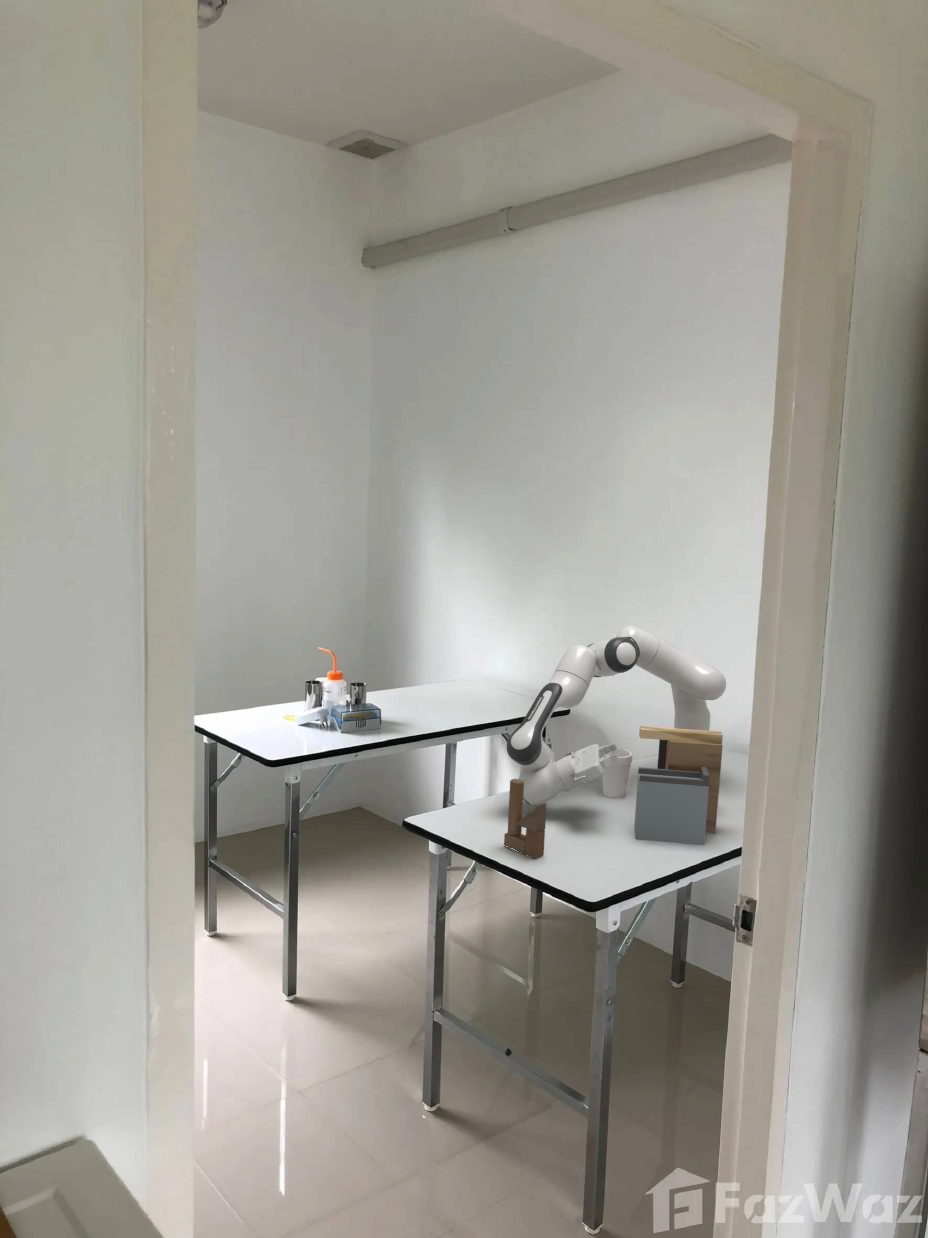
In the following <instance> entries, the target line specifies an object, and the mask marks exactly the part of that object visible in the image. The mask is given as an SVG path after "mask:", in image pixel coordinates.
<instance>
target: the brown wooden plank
mask: <svg viewBox="0 0 928 1238" xmlns="http://www.w3.org/2000/svg"><path fill="white" fill-rule="evenodd" d="M722 755H723V743H722V744H714V743H700V742H686V741H672V740H668V746H667V759H666V769H668V770H681V771H694V772H700V769H701V767H707V770H708V773H709V775H710V778H709V792H708V804H707V817H706V829H705V834H716V829H717V819H718V817H717V816H718V807H719V794H720V782H721V770H722V759H723V757H722Z"/></svg>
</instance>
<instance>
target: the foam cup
mask: <svg viewBox="0 0 928 1238" xmlns="http://www.w3.org/2000/svg"><path fill="white" fill-rule="evenodd" d="M613 753H615V754H616V755H617V760H616V761H614V762H612V763H611V764H610V765H608V766H607V767H605V768H604V774H603V775H601V777H602V779H601V783H602V791H603V792H602V794H603V795H604V796H606V797H607V798H608V797H609V798H613V799H615V798H616V799H618V798H623V797H624V796H625V794H626V790H627V789H626V788H627V785H628V780H629V776H630V775H629V774H630V770H631V766H632V763H633V753H632V752H631V751H629V750H627V749H622V748H617V749H616V750H615V751H613V752H609V753H606V754H605V755H603V759H605V758H606V757H608V756H609V755H611V754H613Z"/></svg>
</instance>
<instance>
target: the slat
mask: <svg viewBox="0 0 928 1238" xmlns="http://www.w3.org/2000/svg"><path fill="white" fill-rule="evenodd" d="M638 735H639V736H638V737H639V739H645V740H646V739H648V740H672V741H686V742H700V743H714V744H722V745H723V733H722V731H717V730H716V731H714V730H709V731H703V730H689V729H675V728H674V727H659V726H658V727H657V726H646V725H645V726H644V725H642V726H641V725H640V726H639V734H638Z"/></svg>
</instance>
